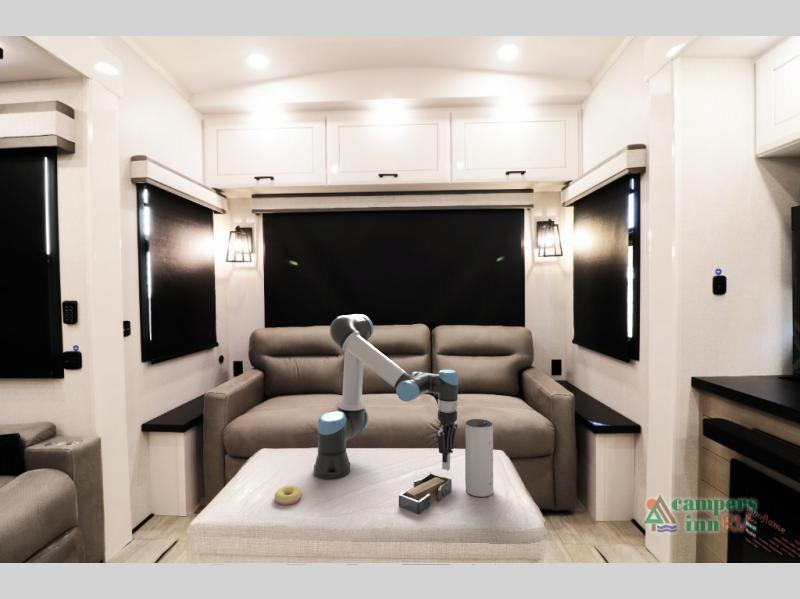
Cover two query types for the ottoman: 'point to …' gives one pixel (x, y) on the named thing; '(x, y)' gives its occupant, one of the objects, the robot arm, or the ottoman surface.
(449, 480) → the cap
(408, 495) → the slat
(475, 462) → the speaker
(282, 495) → the donut
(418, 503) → the cap
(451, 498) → the ottoman surface
